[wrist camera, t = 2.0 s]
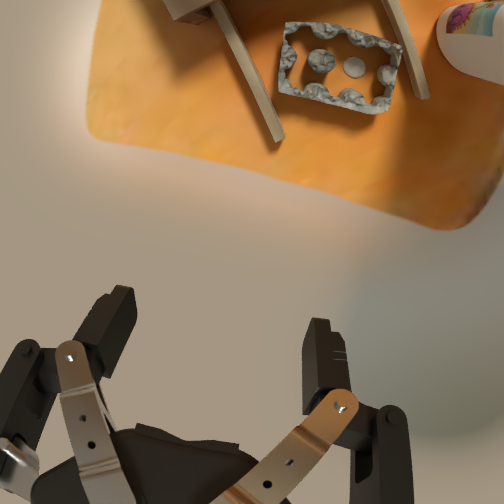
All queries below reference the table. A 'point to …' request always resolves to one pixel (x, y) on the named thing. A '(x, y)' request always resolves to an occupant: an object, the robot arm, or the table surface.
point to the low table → (194, 12)
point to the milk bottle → (474, 39)
